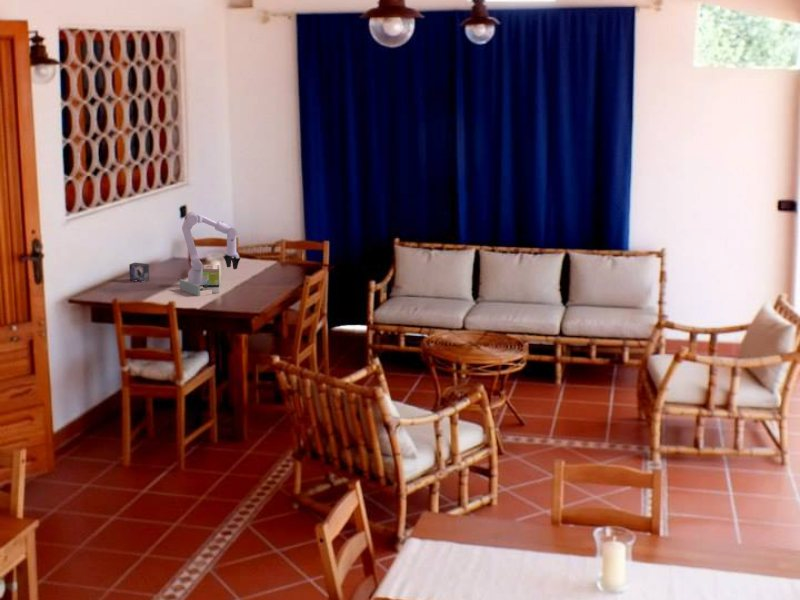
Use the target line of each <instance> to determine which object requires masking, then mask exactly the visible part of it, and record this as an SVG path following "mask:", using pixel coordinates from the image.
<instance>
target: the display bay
mask: <svg viewBox="0 0 800 600" xmlns="http://www.w3.org/2000/svg"><path fill="white" fill-rule="evenodd" d="M179 290H180V291H184V292H185V293H189V294H191V295H195V296H196V297H199V296H207V295H213V293H212V290H205V291H203V290H201V285H200V286H199V285H196V284H193V283H190V282H188V280H184V279H181V278H180V279H179Z"/></svg>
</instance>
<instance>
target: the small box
mask: <svg viewBox="0 0 800 600" xmlns="http://www.w3.org/2000/svg"><path fill="white" fill-rule="evenodd" d="M149 266H150V265H149V263H142V262H141V263H140V262H133V263H130V264H129V266H128V267H129V280H130V279H131V280H137V281H136V282H139V281H146V282H148V281H147V280H149V281H150V267H149Z"/></svg>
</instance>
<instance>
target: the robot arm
mask: <svg viewBox="0 0 800 600" xmlns="http://www.w3.org/2000/svg"><path fill="white" fill-rule="evenodd" d="M183 219H184V220H183V224H182V227H181V230H182V231H181V232H182V233H183V236H184V241H185V244H186V247H187V250H188V251H187V252H188V254H189V258H190V267H191V268H190V270H189V271H188V272H187V275H188V276H187V278H188V279H187V281H188V282H190V283H193V284H196V285H199V286H200V287H201V286H203V265H204V264H203V262H201V260H200V257H199V254H198V251H197V248H196V244H195V241H194V238H193V233H192V228H193V227H194V226H195V225H196V224H197V223H198V224H200V223H202V224H203V223H204V224H206V225H209V226H211V227H214V229H215V230H216V231H218V232H219V233H222V234H225V235H226V251H224V256H223V259H224V261H225V264H226V267H227V268H231V267H232V269H233V270H237V269H238V265H239V263H240V260H241V257H240V254H239V252H237V235H238V232H237V229H236V228H235V227H234V226H232V225H231V224H227V223H224V221H220V220H219V221H215V220H213V219H211V218H209V217H206V216H204V215H203V214H199V213H195V212H193V211H190V212H188V213H187V214H186V215H185V216H184V218H183Z"/></svg>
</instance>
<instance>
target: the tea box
mask: <svg viewBox="0 0 800 600" xmlns="http://www.w3.org/2000/svg"><path fill="white" fill-rule="evenodd" d="M202 265H203V267H202V269H203V285H202V291H205V290H212V294H219V293H220V287H221V285H220V282H221V280H220V279H221V278H220V277H221V276H220V274H221V273H220V269H221V268H220V264H202Z"/></svg>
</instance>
